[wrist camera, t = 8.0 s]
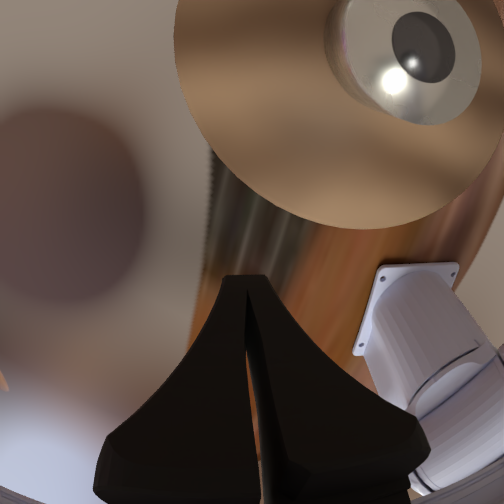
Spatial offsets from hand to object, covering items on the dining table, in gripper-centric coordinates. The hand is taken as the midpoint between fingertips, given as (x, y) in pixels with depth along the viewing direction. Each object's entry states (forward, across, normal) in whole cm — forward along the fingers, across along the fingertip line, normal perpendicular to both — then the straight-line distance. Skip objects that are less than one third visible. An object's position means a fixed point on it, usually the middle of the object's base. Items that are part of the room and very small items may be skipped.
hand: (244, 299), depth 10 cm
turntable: (+8, -7, -9) cm, 14 cm away
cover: (+7, -7, -9) cm, 14 cm away
